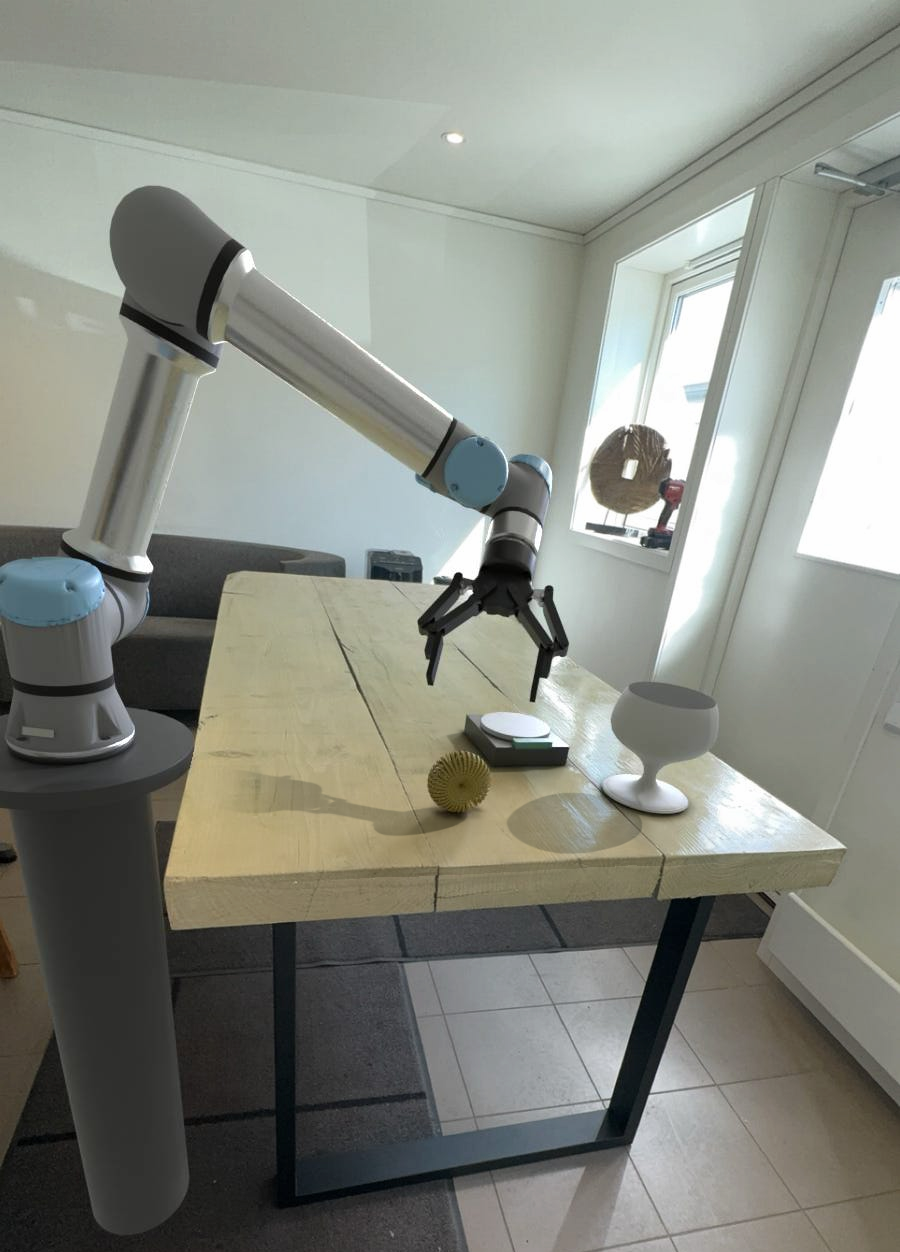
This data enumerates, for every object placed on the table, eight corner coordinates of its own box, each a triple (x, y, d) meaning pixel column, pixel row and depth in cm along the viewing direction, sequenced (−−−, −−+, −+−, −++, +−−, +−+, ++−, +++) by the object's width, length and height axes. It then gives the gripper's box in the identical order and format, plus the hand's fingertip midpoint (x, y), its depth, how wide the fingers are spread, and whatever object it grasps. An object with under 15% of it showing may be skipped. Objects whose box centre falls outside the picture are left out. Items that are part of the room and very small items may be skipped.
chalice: (715, 808, 93) (748, 707, 86) (649, 827, 85) (680, 717, 78) (639, 769, 103) (664, 676, 96) (574, 783, 95) (596, 682, 88)
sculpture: (427, 818, 80) (433, 758, 77) (421, 802, 84) (427, 744, 80) (489, 818, 82) (499, 759, 79) (481, 803, 86) (490, 746, 82)
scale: (463, 731, 109) (466, 709, 107) (530, 731, 113) (533, 710, 111) (493, 766, 97) (497, 742, 95) (566, 764, 101) (570, 741, 99)
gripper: (595, 585, 94) (573, 717, 87) (425, 561, 97) (391, 687, 90) (604, 549, 87) (581, 690, 80) (420, 524, 90) (383, 658, 83)
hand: (480, 689), depth 85 cm, fingers open, 13 cm apart
